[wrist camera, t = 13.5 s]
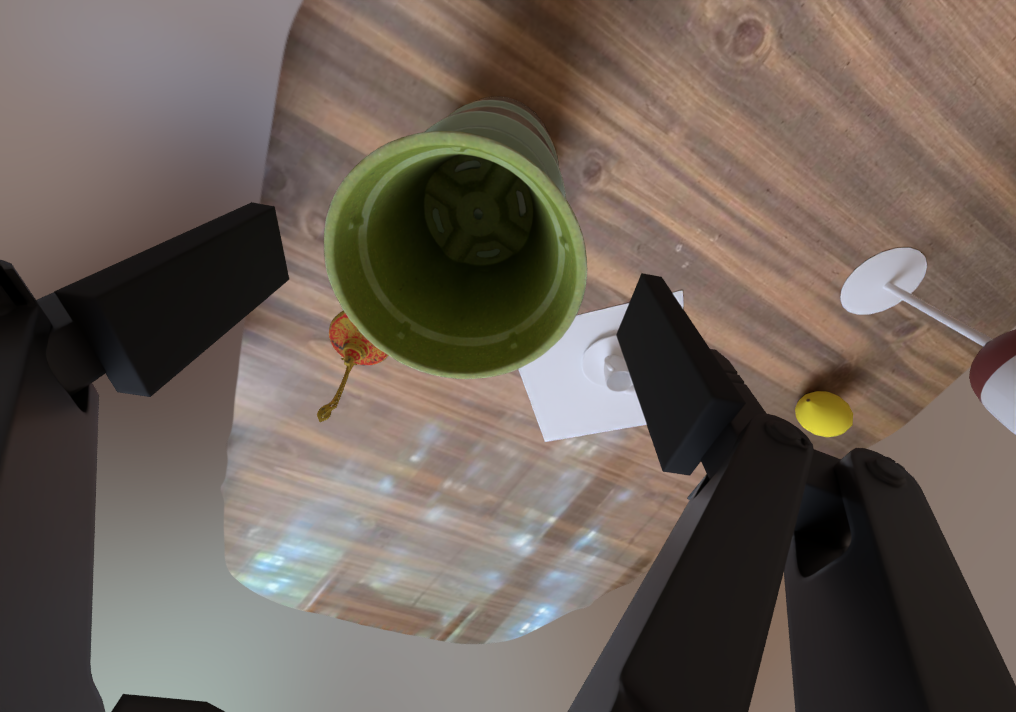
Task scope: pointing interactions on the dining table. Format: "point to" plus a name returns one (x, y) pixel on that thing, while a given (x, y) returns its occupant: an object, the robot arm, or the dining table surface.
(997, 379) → the wineglass
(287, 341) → the dining table surface
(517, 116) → the cup stack
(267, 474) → the dining table surface
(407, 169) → the plant pot
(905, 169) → the dining table surface
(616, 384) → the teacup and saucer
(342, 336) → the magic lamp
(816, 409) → the lemon
